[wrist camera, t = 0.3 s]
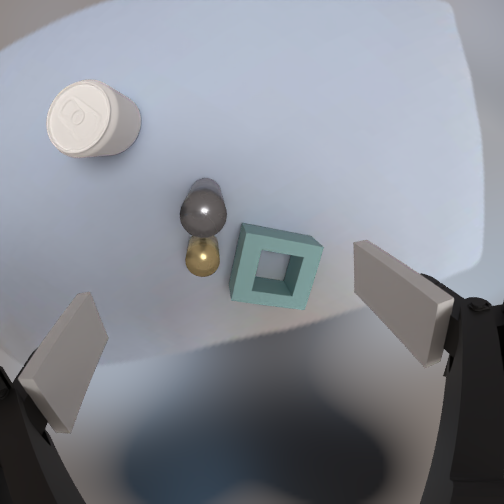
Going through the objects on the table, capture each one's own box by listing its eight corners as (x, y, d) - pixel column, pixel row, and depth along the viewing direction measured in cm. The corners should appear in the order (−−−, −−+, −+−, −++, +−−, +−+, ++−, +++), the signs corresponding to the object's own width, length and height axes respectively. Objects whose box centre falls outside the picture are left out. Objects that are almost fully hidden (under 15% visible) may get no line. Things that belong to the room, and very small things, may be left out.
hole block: (228, 284, 43) (231, 300, 39) (242, 222, 41) (246, 232, 36) (295, 293, 45) (304, 309, 41) (311, 236, 43) (323, 247, 38)
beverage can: (113, 167, 36) (76, 175, 25) (75, 130, 33) (29, 126, 22) (154, 121, 35) (131, 109, 24) (114, 84, 32) (80, 61, 21)
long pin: (187, 205, 39) (176, 233, 26) (193, 175, 38) (184, 188, 25) (217, 210, 40) (221, 241, 27) (223, 181, 39) (231, 196, 26)
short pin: (186, 256, 41) (183, 273, 36) (191, 228, 40) (188, 241, 35) (215, 261, 42) (216, 279, 36) (220, 233, 41) (222, 247, 35)
